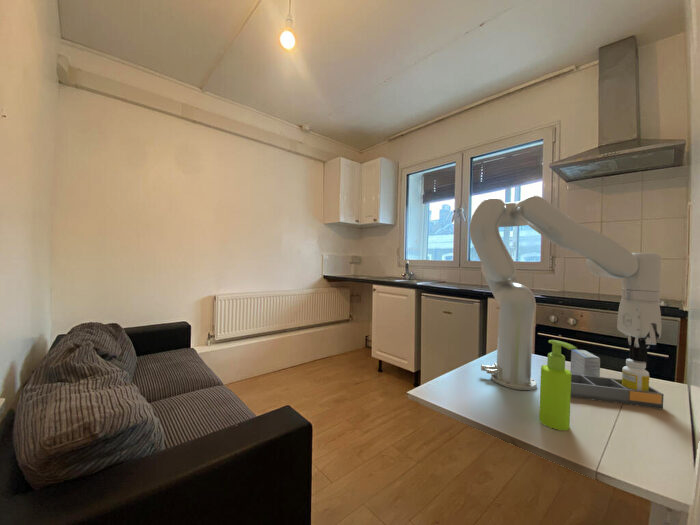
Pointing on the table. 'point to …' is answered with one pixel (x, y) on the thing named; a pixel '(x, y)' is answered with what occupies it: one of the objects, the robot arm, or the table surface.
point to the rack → (613, 391)
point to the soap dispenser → (555, 389)
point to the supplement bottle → (635, 376)
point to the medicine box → (584, 363)
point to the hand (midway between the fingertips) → (638, 360)
